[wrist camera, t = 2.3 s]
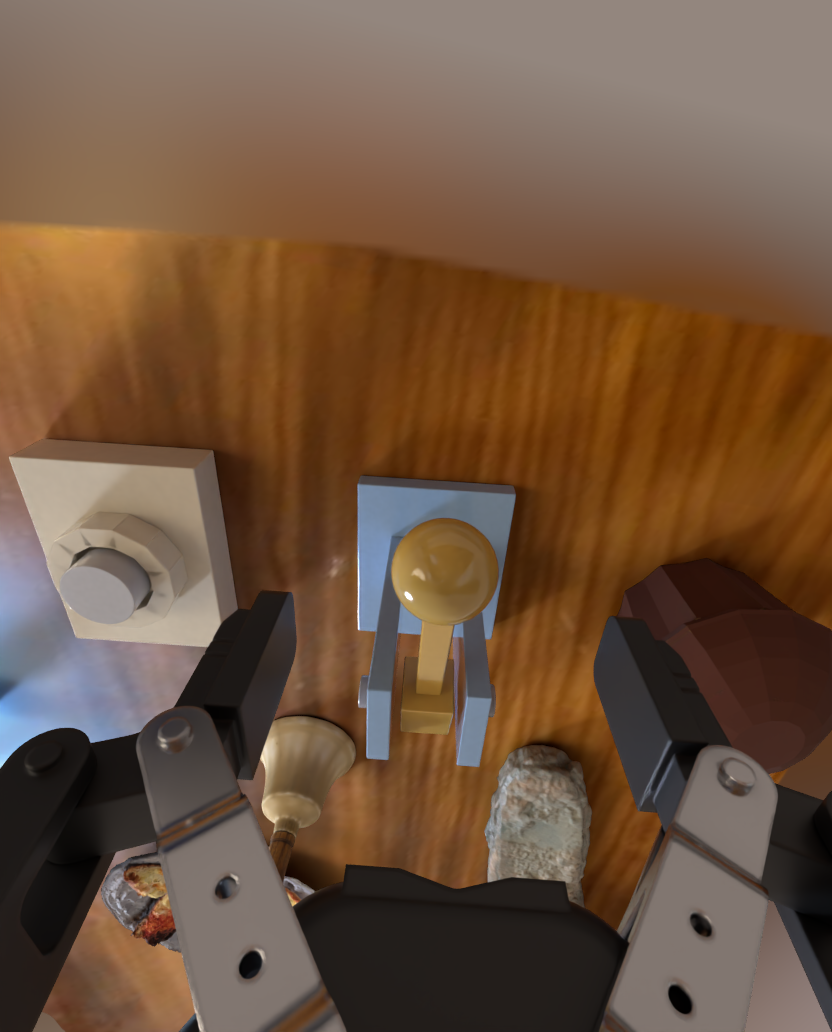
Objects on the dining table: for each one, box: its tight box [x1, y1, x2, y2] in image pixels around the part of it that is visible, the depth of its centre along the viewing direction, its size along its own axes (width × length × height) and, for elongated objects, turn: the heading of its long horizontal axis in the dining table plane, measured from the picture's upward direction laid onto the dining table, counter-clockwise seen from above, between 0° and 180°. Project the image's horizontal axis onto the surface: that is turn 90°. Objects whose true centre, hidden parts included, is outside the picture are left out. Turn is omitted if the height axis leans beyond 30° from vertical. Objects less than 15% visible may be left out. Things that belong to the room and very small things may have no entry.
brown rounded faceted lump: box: [617, 558, 832, 774], centre depth 29 cm, size 12×11×10 cm
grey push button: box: [60, 548, 150, 624], centre depth 28 cm, size 4×4×2 cm
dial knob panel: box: [9, 439, 238, 647], centre depth 30 cm, size 13×10×4 cm
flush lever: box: [391, 518, 499, 735], centre depth 19 cm, size 13×3×3 cm, turn 177°
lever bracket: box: [358, 476, 516, 767], centre depth 27 cm, size 11×9×13 cm
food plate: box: [101, 852, 315, 952], centre depth 54 cm, size 25×23×4 cm
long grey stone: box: [485, 745, 592, 908], centre depth 47 cm, size 35×5×10 cm
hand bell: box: [260, 716, 356, 882], centre depth 35 cm, size 8×8×16 cm
